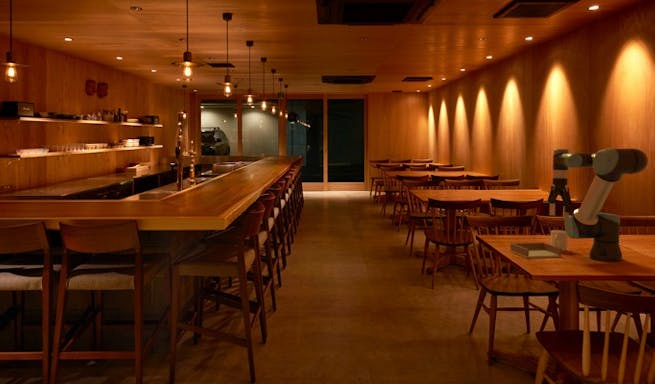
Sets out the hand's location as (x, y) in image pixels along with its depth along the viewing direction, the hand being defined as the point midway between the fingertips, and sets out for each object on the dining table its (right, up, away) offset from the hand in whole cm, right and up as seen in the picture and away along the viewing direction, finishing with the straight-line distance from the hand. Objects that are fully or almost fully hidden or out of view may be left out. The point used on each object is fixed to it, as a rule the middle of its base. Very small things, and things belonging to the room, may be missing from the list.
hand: (558, 216), depth 312 cm
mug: (0, -19, +2) cm, 19 cm away
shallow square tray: (-16, -19, -9) cm, 27 cm away
